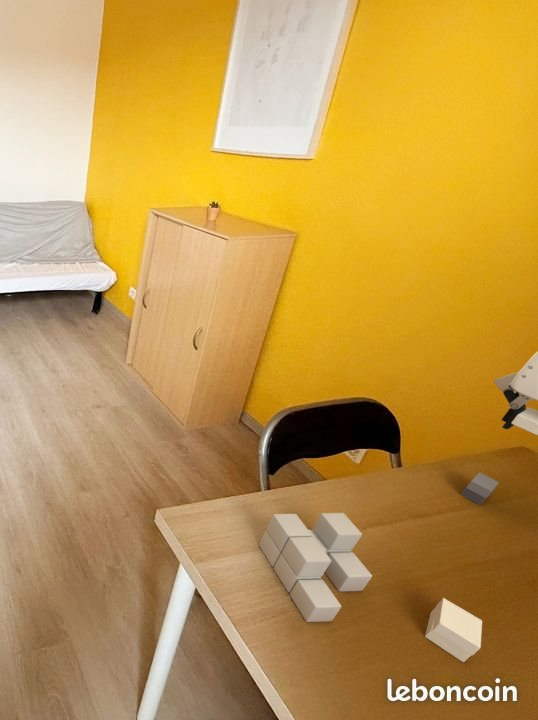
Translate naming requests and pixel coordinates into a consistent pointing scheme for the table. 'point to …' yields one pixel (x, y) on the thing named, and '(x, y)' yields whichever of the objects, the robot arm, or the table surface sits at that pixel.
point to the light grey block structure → (315, 561)
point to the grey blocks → (479, 488)
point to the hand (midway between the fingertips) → (527, 434)
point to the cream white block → (527, 420)
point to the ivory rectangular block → (454, 630)
